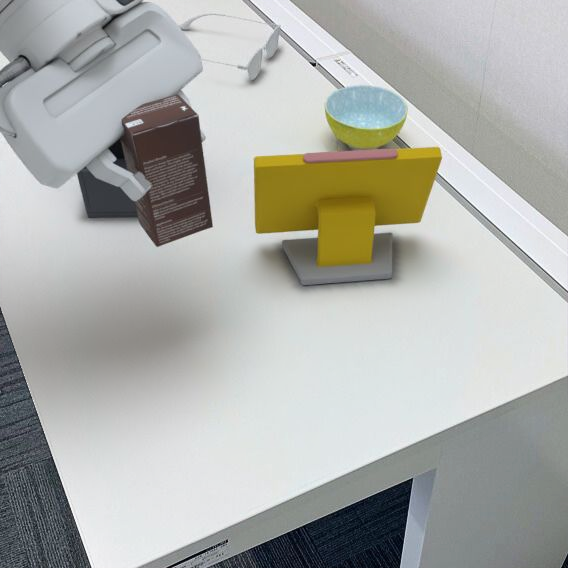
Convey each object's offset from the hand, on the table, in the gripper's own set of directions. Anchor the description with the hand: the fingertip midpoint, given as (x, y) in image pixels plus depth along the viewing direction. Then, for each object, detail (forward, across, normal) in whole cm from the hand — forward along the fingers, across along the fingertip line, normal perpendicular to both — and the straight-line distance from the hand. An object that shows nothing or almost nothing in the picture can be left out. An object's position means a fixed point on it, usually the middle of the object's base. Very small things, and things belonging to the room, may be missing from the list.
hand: (172, 169), depth 68 cm
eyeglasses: (-6, +54, +38) cm, 66 cm away
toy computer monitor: (+22, +18, +9) cm, 30 cm away
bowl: (+16, +42, +15) cm, 48 cm away
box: (+4, 0, +5) cm, 7 cm away
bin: (+1, +19, +30) cm, 35 cm away
